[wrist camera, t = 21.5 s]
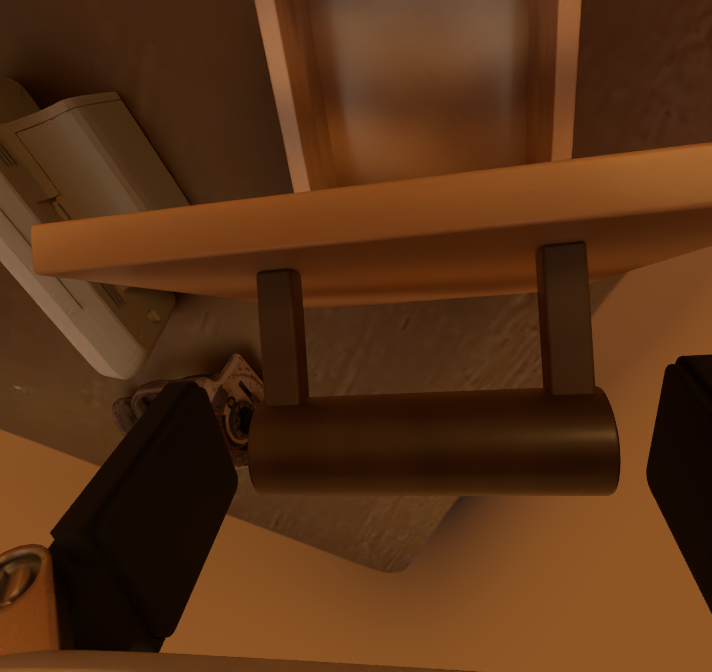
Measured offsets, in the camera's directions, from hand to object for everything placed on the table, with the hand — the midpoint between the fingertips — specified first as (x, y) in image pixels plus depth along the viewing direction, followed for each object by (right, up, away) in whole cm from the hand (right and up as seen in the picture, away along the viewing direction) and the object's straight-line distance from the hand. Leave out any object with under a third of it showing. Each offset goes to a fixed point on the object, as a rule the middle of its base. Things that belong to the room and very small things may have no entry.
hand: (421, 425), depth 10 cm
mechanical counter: (-13, -2, +27) cm, 30 cm away
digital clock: (-16, +11, +20) cm, 28 cm away
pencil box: (+2, +14, +15) cm, 21 cm away
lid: (+1, +4, +4) cm, 6 cm away
